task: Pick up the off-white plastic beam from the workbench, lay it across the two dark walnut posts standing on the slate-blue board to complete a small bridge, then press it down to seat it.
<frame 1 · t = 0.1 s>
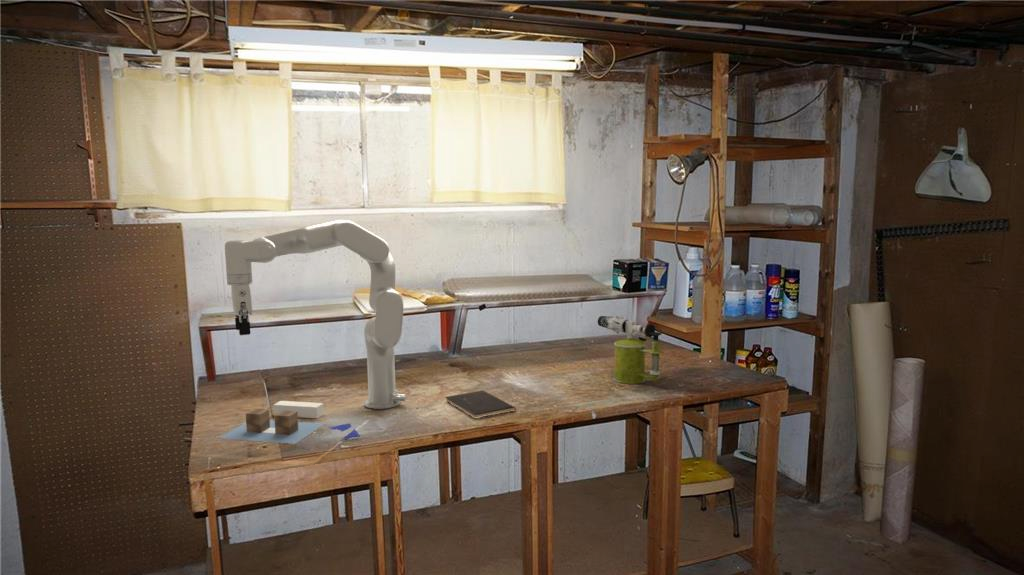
hand: (243, 332, 219), 31 cm above the table, tool pointing down, fingers open, 9 cm apart
beam: (299, 418, 230), on the table
post 2: (287, 431, 213), point 1 cm above the table, touching board
blowtorch: (629, 380, 271), on the table
board: (272, 433, 214), on the table
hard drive: (343, 436, 214), on the table
hardcover book: (479, 408, 240), on the table
post 1: (258, 429, 215), point 1 cm above the table, touching board
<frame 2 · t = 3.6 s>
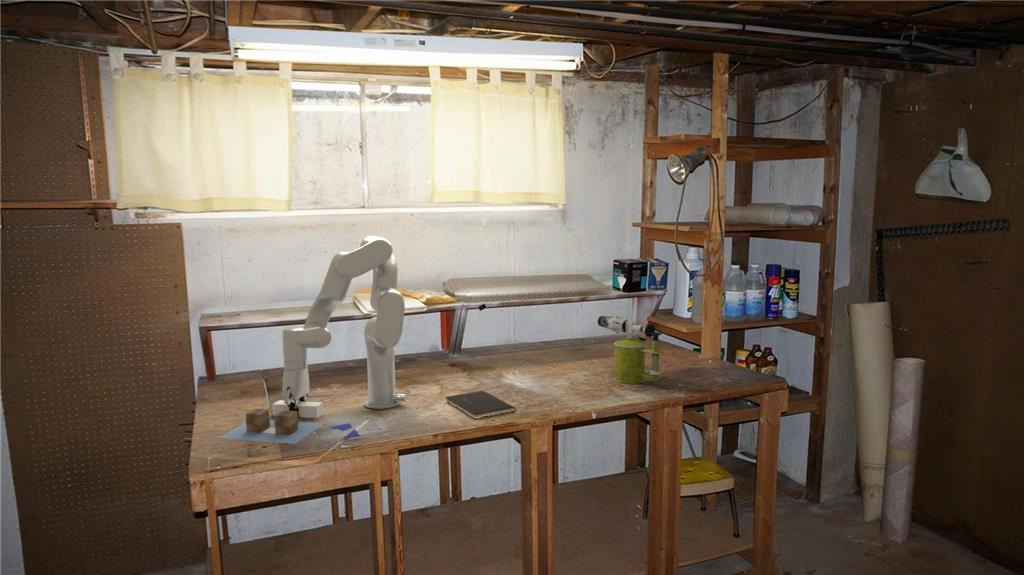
hand: (298, 416, 230), 1 cm above the table, tool pointing down, fingers closed on beam, 4 cm apart
beam: (298, 417, 230), on the table, touching gripper
everything else where it was.
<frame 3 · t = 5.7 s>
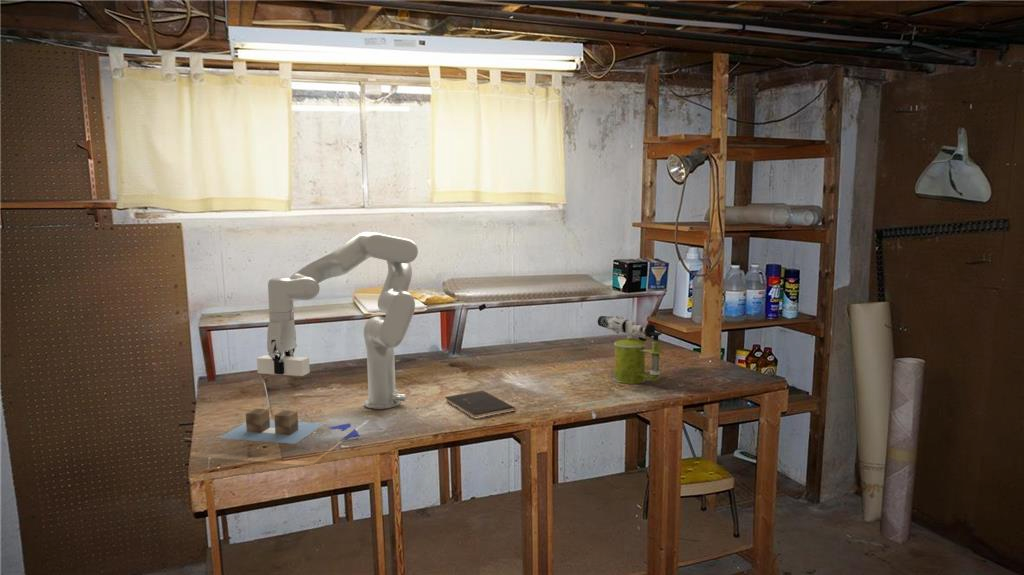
hand: (283, 371, 221), 18 cm above the table, tool pointing down, fingers closed on beam, 4 cm apart
beam: (283, 372, 221), point 17 cm above the table, touching gripper
everything else where it was.
when the fingers open (9 cm above the table, at t = 8.2 s): beam drops 1 cm, resting on post 2, post 1.
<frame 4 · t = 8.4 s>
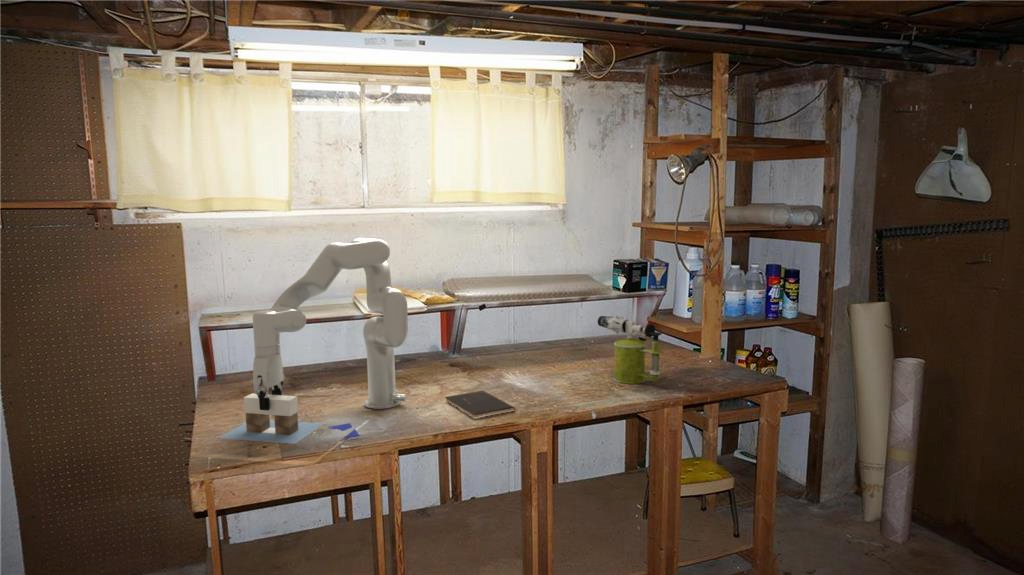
hand: (271, 405, 213), 9 cm above the table, tool pointing down, fingers open, 6 cm apart
beam: (271, 412, 214), point 7 cm above the table, touching post 2, post 1
post 2: (287, 431, 213), point 1 cm above the table, touching beam, board
post 1: (258, 429, 215), point 1 cm above the table, touching beam, board
everything else where it was.
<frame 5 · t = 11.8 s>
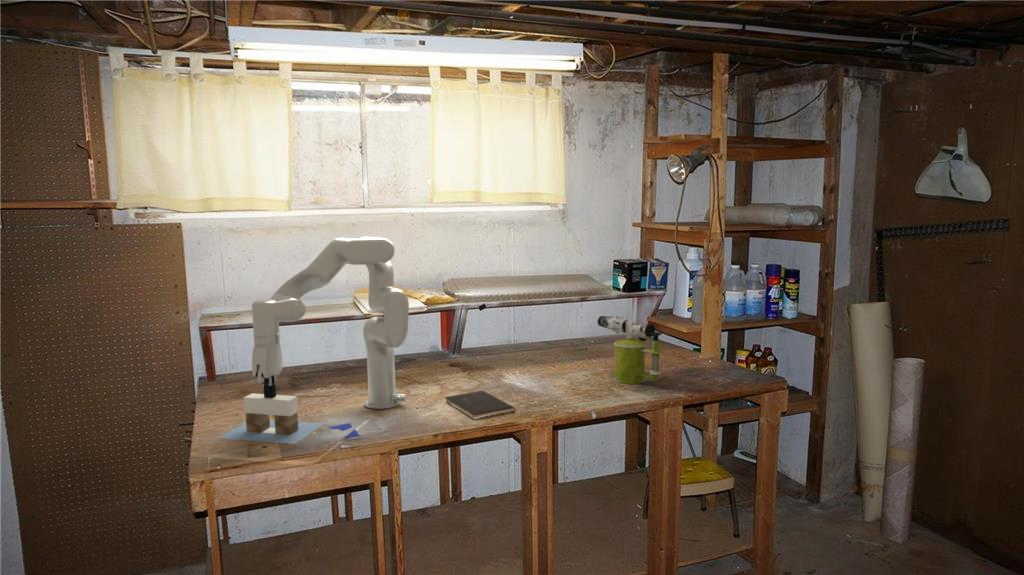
hand: (270, 397, 213), 12 cm above the table, tool pointing down, fingers closed
beam: (271, 412, 214), point 7 cm above the table, touching gripper, post 2, post 1
everything else where it was.
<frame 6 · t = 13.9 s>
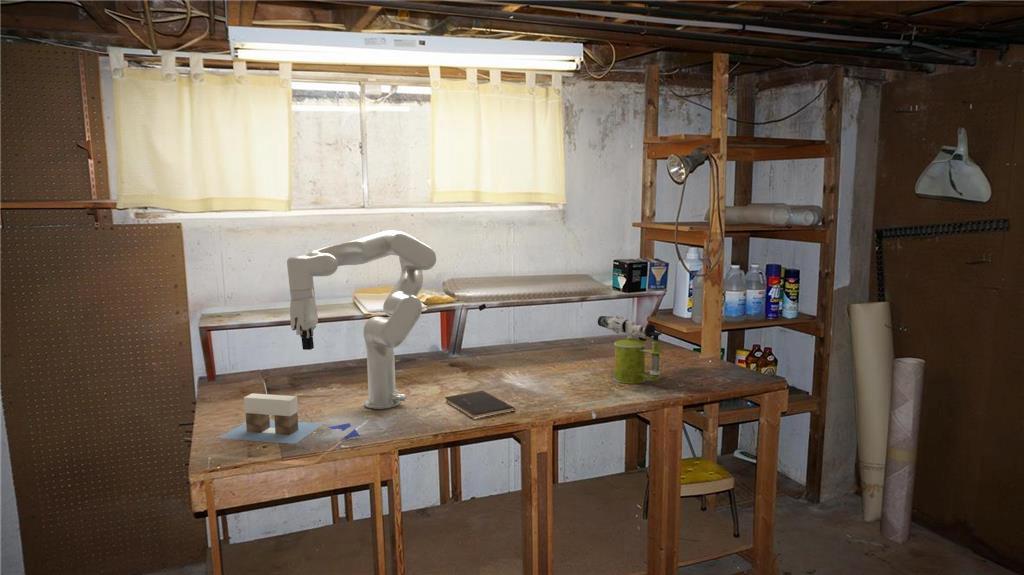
hand: (308, 348, 223), 24 cm above the table, tool pointing down, fingers closed
beam: (271, 412, 214), point 7 cm above the table, touching post 2, post 1
everything else where it was.
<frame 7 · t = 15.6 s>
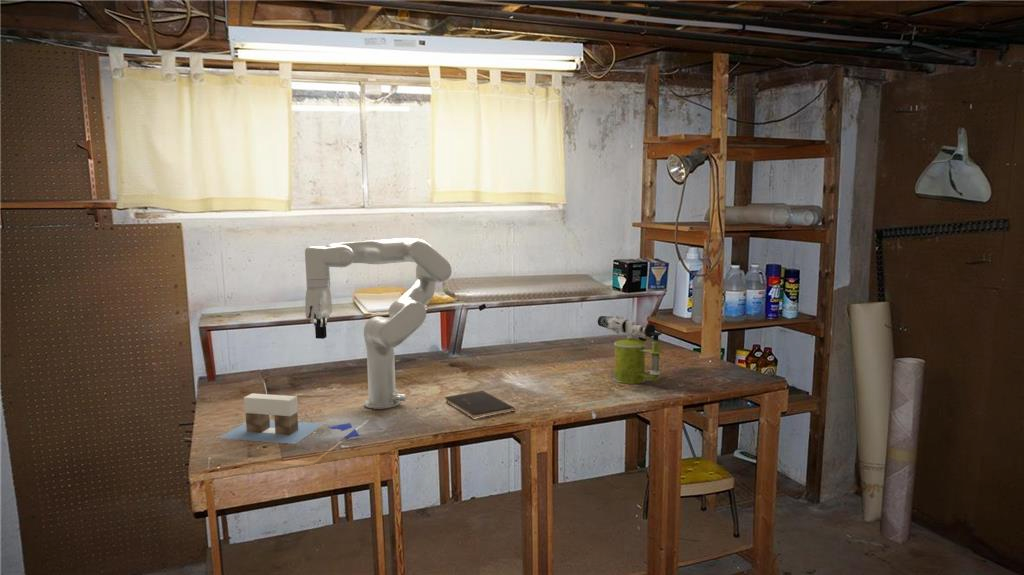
hand: (321, 337, 227), 27 cm above the table, tool pointing down, fingers closed
nothing on the table moved.
at the end: beam 0.1 cm off-centre on the board, point 7.0 cm above the board's base; beam tilted 0°; beam touching post 2, post 1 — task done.
